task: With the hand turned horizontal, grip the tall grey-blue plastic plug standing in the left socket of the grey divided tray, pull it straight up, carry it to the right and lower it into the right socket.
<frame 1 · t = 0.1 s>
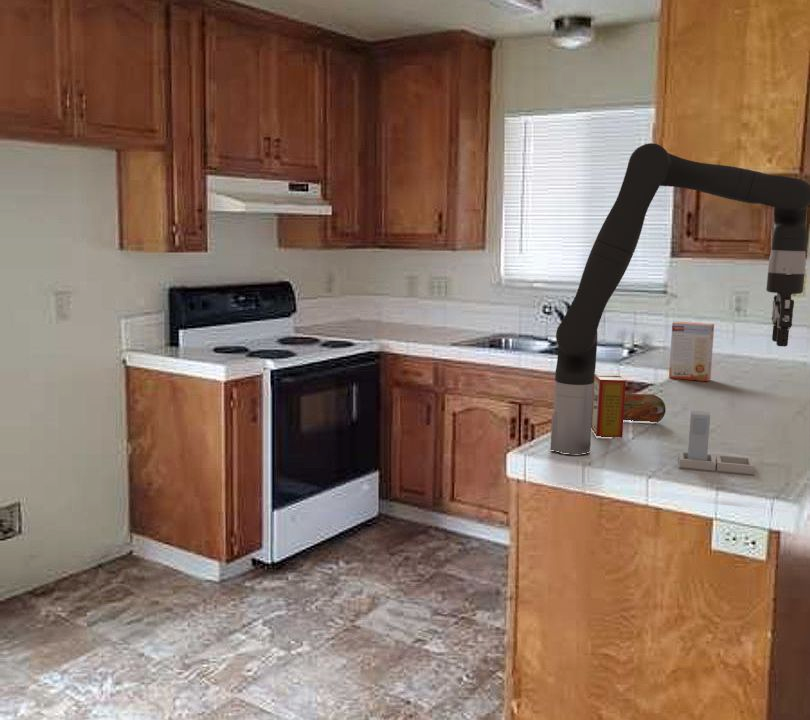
hand: (779, 343, 195), 29 cm above the worktop, tool pointing down, fingers open, 8 cm apart
baking soda box: (606, 435, 230), on the worktop
tin: (636, 423, 246), on the worktop
plug: (696, 464, 198), point 1 cm above the worktop, touching grey divided tray
cracker box: (689, 379, 322), on the worktop
grey divided tray: (714, 471, 197), on the worktop
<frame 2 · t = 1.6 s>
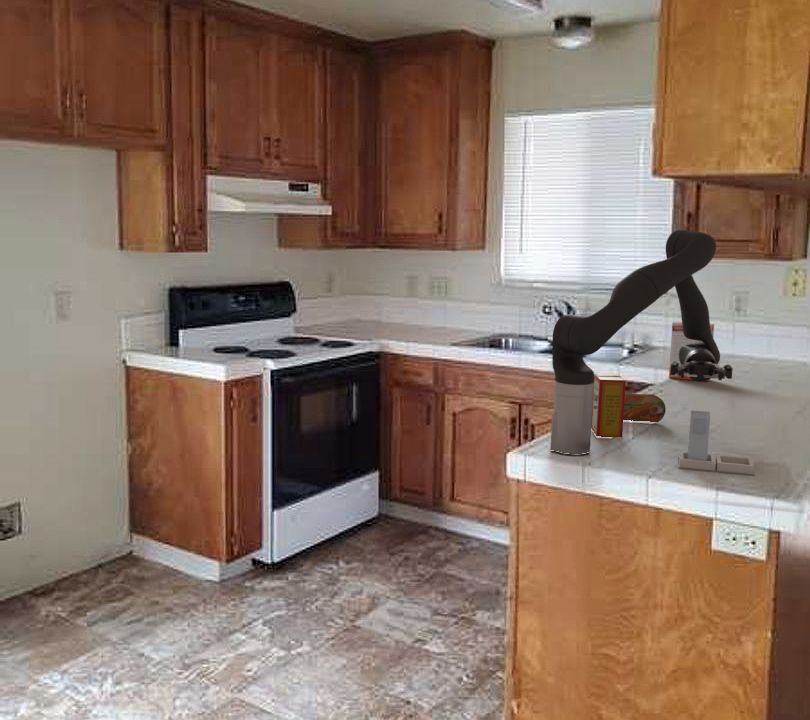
hand: (701, 374, 207), 20 cm above the worktop, tool horizontal, fingers open, 8 cm apart
nothing on the worktop moved.
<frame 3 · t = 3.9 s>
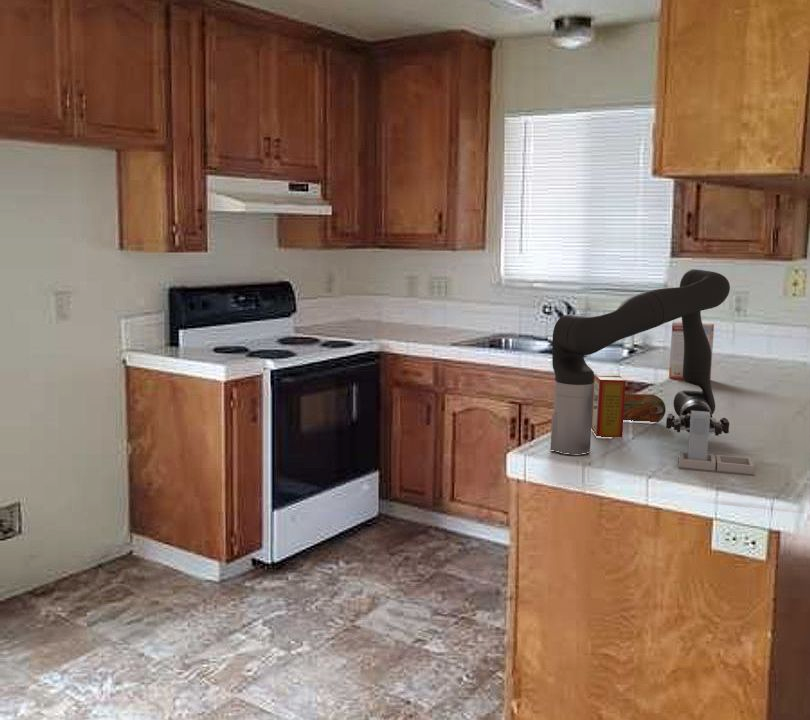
hand: (698, 429, 203), 8 cm above the worktop, tool horizontal, fingers open, 8 cm apart
nothing on the worktop moved.
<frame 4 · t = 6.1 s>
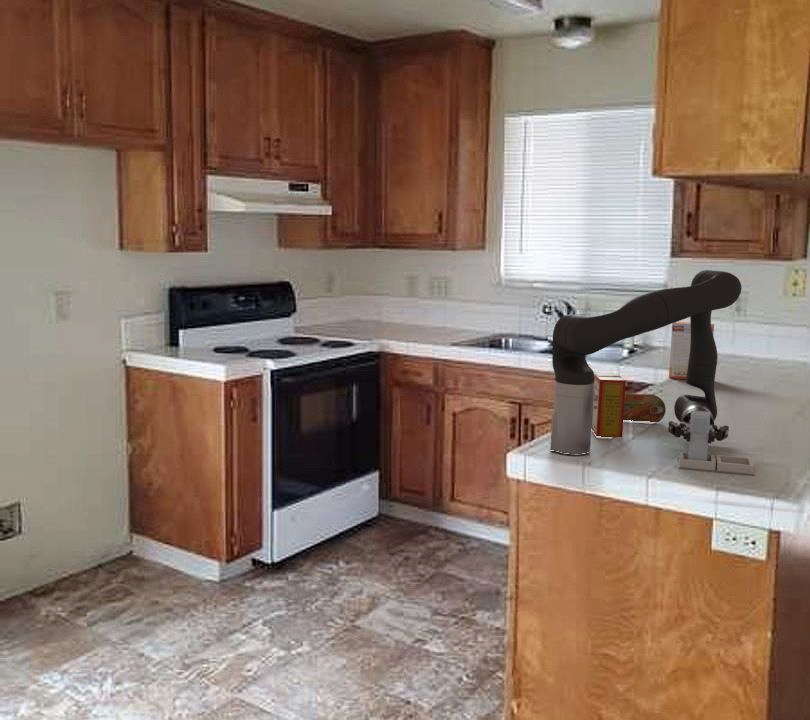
hand: (699, 438, 195), 8 cm above the worktop, tool horizontal, fingers closed on plug, 4 cm apart
plug: (696, 464, 198), point 1 cm above the worktop, touching gripper, grey divided tray
everything else where it was.
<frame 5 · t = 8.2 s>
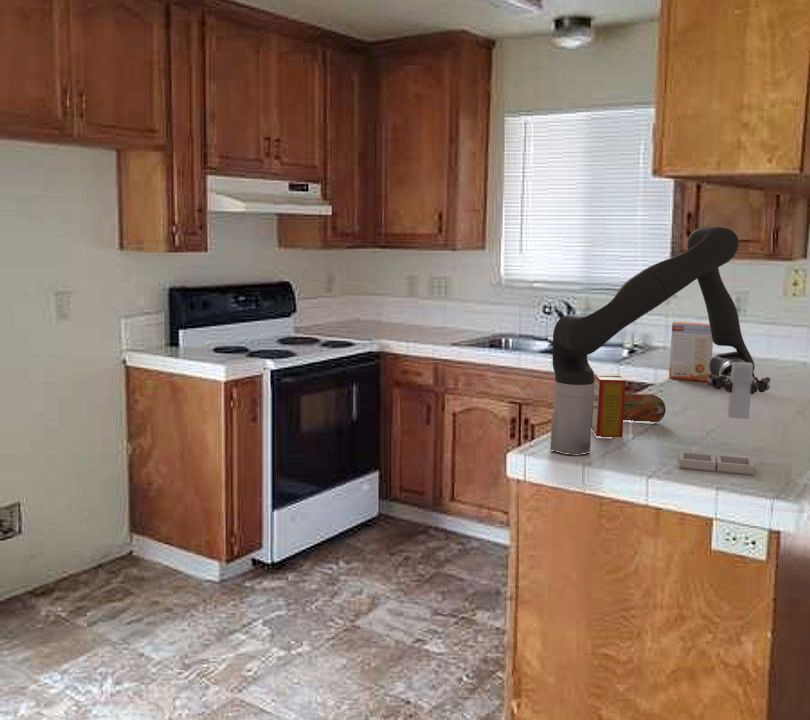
hand: (741, 388, 191), 20 cm above the worktop, tool horizontal, fingers closed on plug, 4 cm apart
plug: (738, 416, 194), point 13 cm above the worktop, touching gripper
everything else where it was.
when the fingers open (9 cm above the worktop, at t = 10.4 s): plug drops 1 cm, resting on grey divided tray.
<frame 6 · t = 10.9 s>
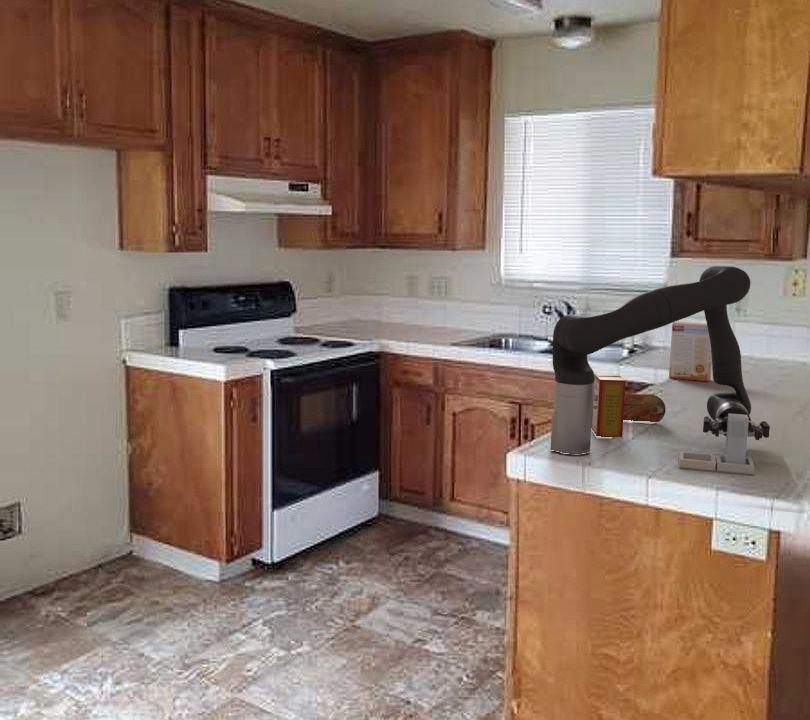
hand: (737, 433, 193), 10 cm above the worktop, tool horizontal, fingers open, 8 cm apart
plug: (734, 467, 196), point 1 cm above the worktop, touching grey divided tray
everything else where it was.
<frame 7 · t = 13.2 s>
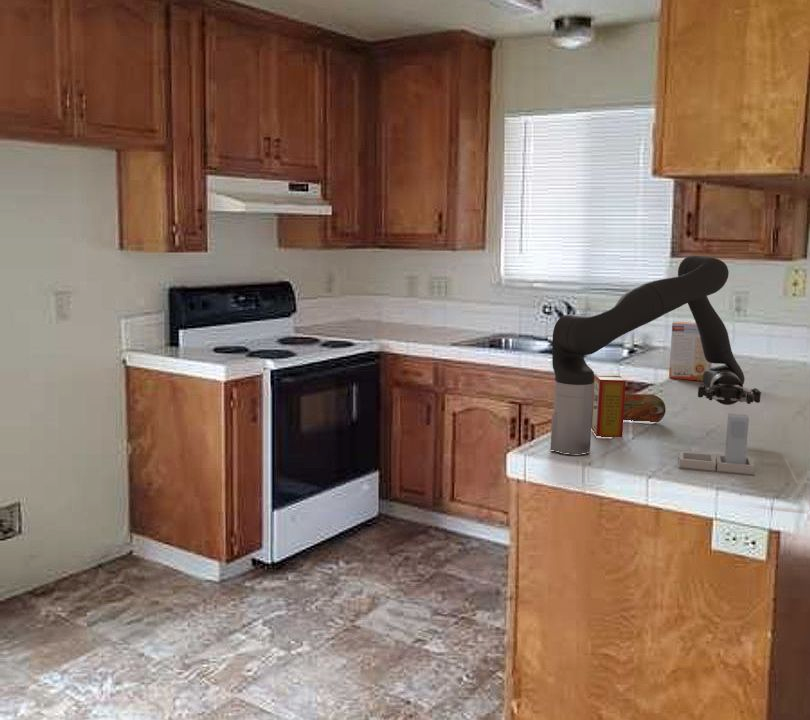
hand: (730, 397, 206), 15 cm above the worktop, tool horizontal, fingers open, 8 cm apart
nothing on the worktop moved.
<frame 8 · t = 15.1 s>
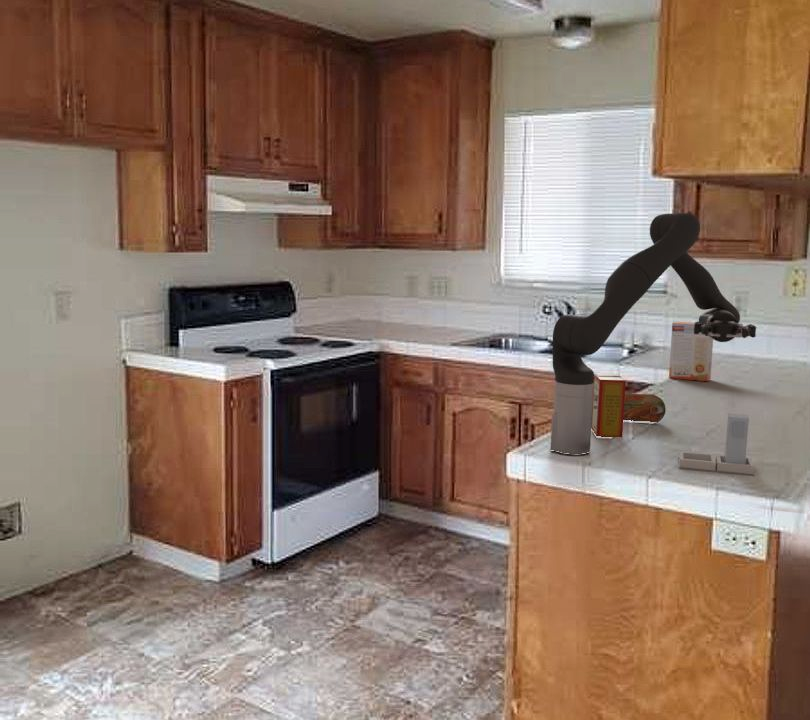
hand: (725, 332, 208), 30 cm above the worktop, tool horizontal, fingers open, 8 cm apart
nothing on the worktop moved.
at the end: plug 0.1 cm from the target spot, point 1.2 cm above the worktop; plug tilted 0°; the gripper is holding nothing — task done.
